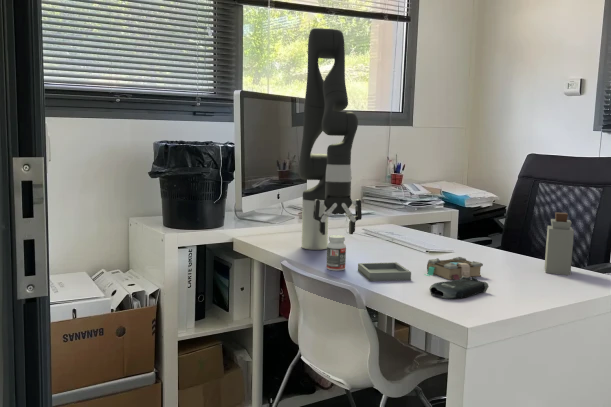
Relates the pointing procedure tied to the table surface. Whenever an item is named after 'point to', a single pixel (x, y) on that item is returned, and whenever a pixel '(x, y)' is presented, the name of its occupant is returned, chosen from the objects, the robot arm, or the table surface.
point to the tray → (384, 271)
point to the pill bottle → (336, 253)
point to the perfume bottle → (559, 245)
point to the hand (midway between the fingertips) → (336, 234)
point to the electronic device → (459, 288)
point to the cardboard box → (453, 268)
